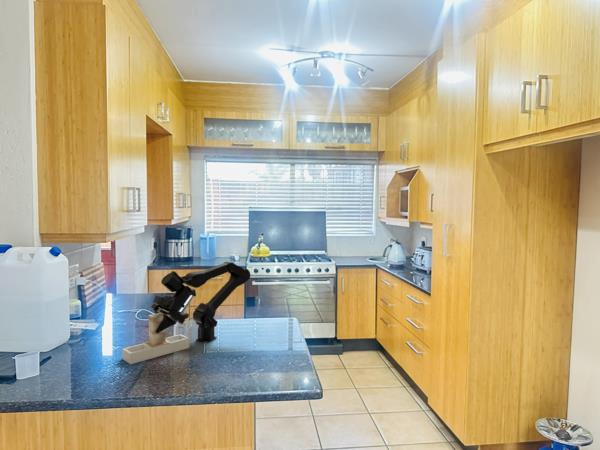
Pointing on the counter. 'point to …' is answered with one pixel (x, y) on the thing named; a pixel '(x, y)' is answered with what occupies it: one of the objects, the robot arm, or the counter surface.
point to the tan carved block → (153, 325)
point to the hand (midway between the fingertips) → (153, 331)
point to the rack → (154, 349)
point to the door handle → (184, 314)
